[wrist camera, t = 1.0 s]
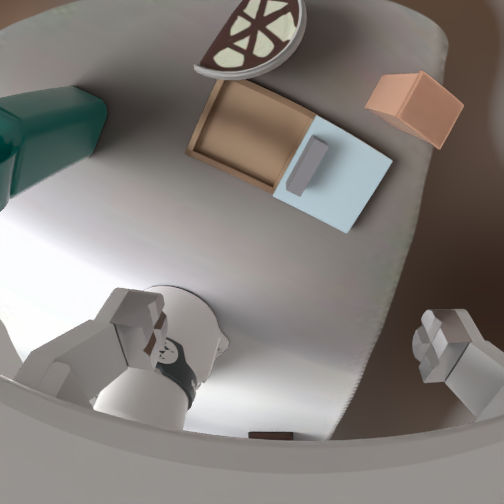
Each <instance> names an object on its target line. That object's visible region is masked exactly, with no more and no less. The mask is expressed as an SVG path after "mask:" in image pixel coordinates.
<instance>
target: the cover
mask: <svg viewBox="0 0 504 504" xmlns="http://www.w3.org/2000/svg"><path fill="white" fill-rule="evenodd" d="M391 163H392V160H391V159H389V158H388V157H386V156H385V155H383V154H382V153H380V152H378V151H377V150H375V149H374V148H372V147H371V146H369V145H367V144H366V143H364V142H363V141H361V140H359V139H358V138H356V137H354V136H353V135H351V134H349V133H347V132H346V131H344V130H342V129H341V128H339V127H337V126H335V125H334V124H332V123H330V122H328V121H326V120H325V119H323V118H321V117H319V116H317V115H316V116H315V118H314V120H313V122H312V123H311V125H310V127H309V129H308V131H307V133H306V134H305V136H304V138H303V140H302V142H301V144H300V145H299V147H298V149H297V151H296V153H295V155H294V156H293V158H292V160H291V162H290V164H289V166H288V167H287V169H286V171H285V173H284V175H283V177H282V179H281V180H280V182H279V184H278V186H277V188H276V190H275V191H274V193H273V197H275V198H277V199H279V200H281V201H283V202H286V203H288V204H290V205H292V206H294V207H296V208H298V209H300V210H302V211H304V212H306V213H308V214H310V215H312V216H314V217H316V218H317V219H319V220H321V221H323V222H325V223H327V224H329V225H331V226H333V227H335V228H337V229H339V230H341V231H343V232H344V233H346V234H347V233H348V231H349V230H350V228H351V227H352V225H353V224H354V222H355V220H356V219H357V217H358V216H359V214H360V213H361V211H362V210H363V208H364V207H365V205H366V203H367V202H368V200H369V199H370V197H371V196H372V194H373V192H374V191H375V189H376V188H377V186H378V184H379V183H380V181H381V180H382V178H383V176H384V175H385V173H386V171H387V170H388V168H389V166H390V165H391Z"/></svg>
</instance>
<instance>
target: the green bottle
mask: <svg viewBox="0 0 504 504" xmlns="http://www.w3.org/2000/svg"><path fill="white" fill-rule="evenodd" d="M106 118H107V107H106V104H105V103H104V102H103V100H102V99H100V98H98V97H96V96H93V95H91V94H89V93H87V92H85V91H83V90H80V89H78V88H76V87H74V86H67V87H59V88H52V89H45V90H39V91H33V92H27V93H22V94H16V95H11V96H7V97H2V98H0V212H1V211H2V210H3V209H4V207H5V206H6V205H7V203H8V201H9V200H11V199H13V198H15V197H17V196H18V195H20V194H21V193H23V192H25V191H26V190H28V189H30V188H32V187H33V186H35V185H37V184H38V183H40V182H42V181H44V180H45V179H47V178H49V177H51V176H53V175H55V174H56V173H58V172H60V171H62V170H64V169H66V168H68V167H70V166H72V165H74V164H75V163H77V162H79V161H81V160H83V159H85V158H88V157H90V156H91V154H92V153H93V152H94V149H95V147H96V144H97V141H98V139H99V136H100V133H101V131H102V128H103V126H104V123H105V121H106Z"/></svg>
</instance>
